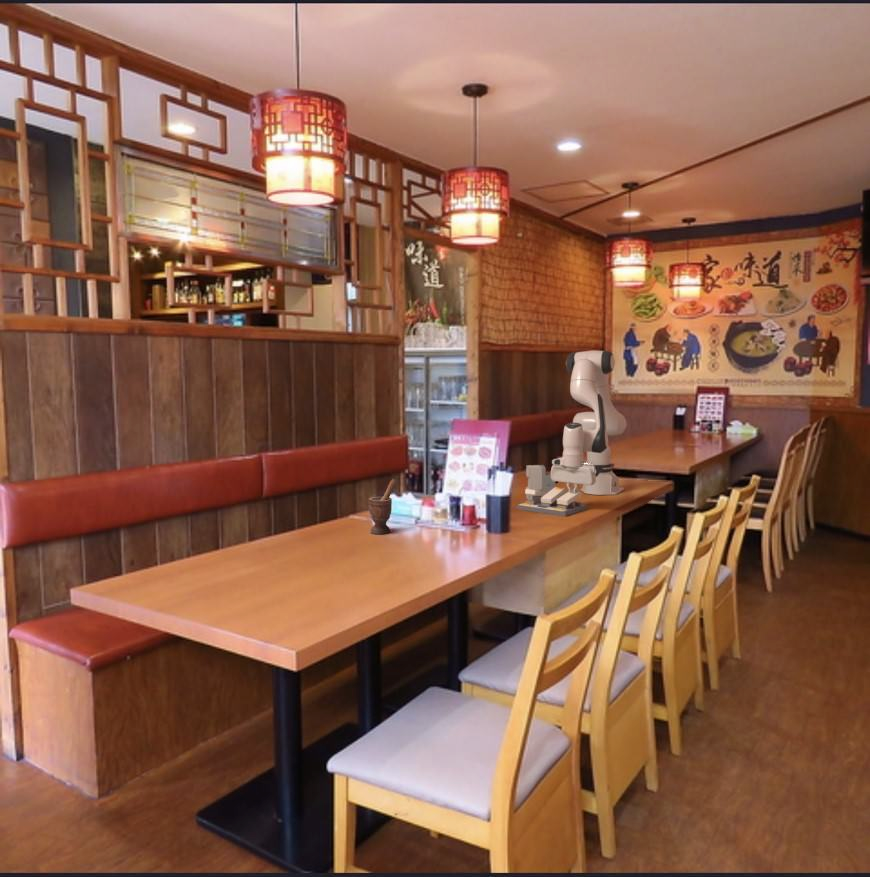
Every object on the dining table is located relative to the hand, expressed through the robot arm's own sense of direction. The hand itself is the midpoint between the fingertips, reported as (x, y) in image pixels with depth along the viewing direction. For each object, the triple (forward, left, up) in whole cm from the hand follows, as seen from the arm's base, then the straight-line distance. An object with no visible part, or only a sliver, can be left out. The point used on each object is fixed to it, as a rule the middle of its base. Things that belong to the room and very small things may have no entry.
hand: (572, 493), depth 314 cm
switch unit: (+4, -8, -7) cm, 12 cm away
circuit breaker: (-15, -25, -8) cm, 30 cm away
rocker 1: (+3, -16, -2) cm, 17 cm away
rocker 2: (+3, -8, -1) cm, 9 cm away
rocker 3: (+3, 0, -1) cm, 3 cm away
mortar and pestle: (+78, -37, -8) cm, 86 cm away
